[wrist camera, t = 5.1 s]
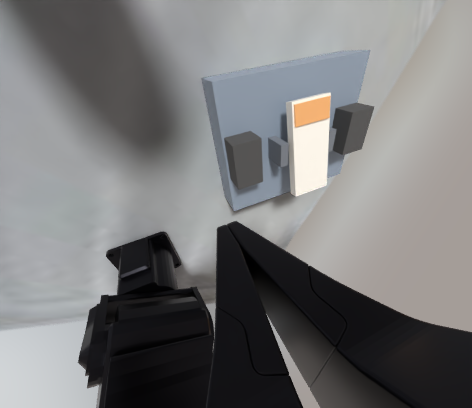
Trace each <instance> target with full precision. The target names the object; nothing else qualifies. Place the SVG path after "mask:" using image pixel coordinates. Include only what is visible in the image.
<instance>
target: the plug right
mask: <svg viewBox="0 0 472 408" xmlns="http://www.w3.org/2000/svg"><path fill="white" fill-rule="evenodd" d="M373 109H374V106H369V105H364V104H360V103H353V104H349V105H345V106H342V107H338V108H336V109H335V114H334V119H333V125H332V128H334V129H337V130H336V135H335V140H334V145H333V151H335V152H337V153H339V154H341V155H345V154H348V153H351V152H354V151H357V150H360V149H362V146H363V143H364V139H365V136H366V133H367V129H368V126H369V123H370V119H371V116H372V113H373Z"/></svg>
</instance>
